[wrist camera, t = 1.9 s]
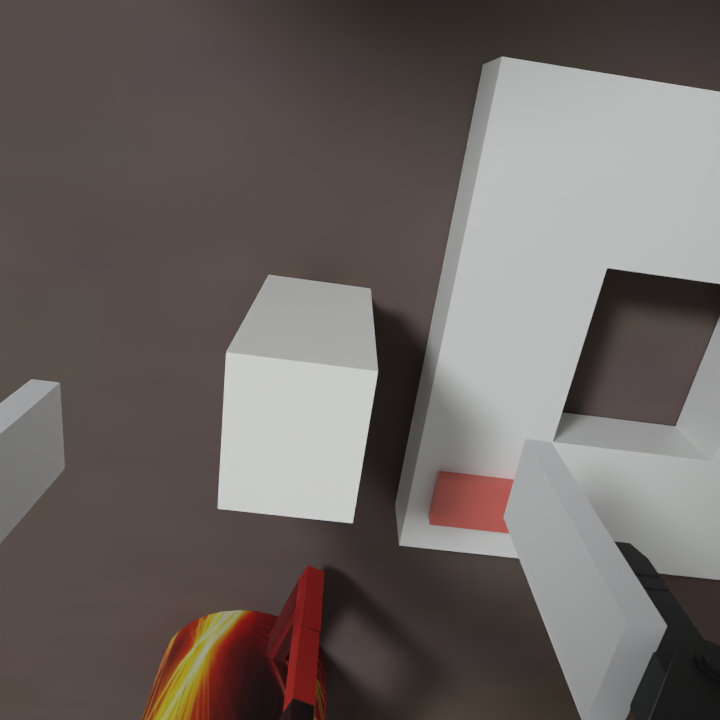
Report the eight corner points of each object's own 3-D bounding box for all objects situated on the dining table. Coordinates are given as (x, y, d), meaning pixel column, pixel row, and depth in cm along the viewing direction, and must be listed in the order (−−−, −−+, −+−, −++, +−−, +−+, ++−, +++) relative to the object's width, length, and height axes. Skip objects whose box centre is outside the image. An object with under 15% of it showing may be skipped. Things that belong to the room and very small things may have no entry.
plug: (275, 262, 24) (226, 352, 15) (369, 275, 24) (378, 371, 15) (266, 370, 26) (217, 508, 17) (353, 381, 26) (352, 523, 17)
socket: (482, 64, 21) (506, 54, 18) (933, 136, 22) (1034, 140, 19) (395, 504, 29) (400, 554, 26) (734, 542, 30) (781, 595, 27)
